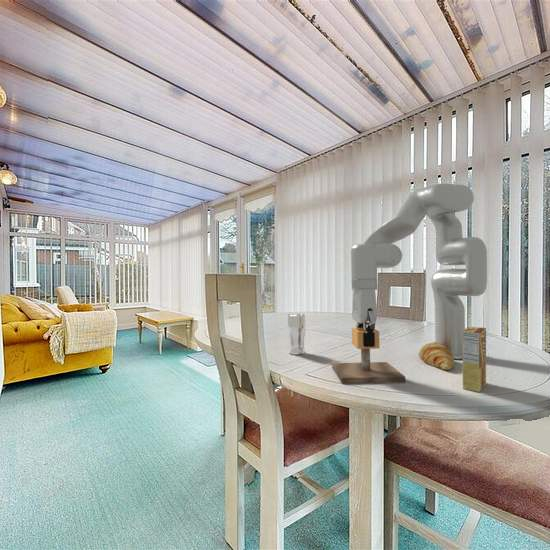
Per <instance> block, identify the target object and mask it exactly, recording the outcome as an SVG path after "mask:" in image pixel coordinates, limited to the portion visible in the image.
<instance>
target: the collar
mask: <svg viewBox="0 0 550 550" xmlns="http://www.w3.org/2000/svg"><path fill="white" fill-rule="evenodd" d="M363 333H364V328H357V327H351V344H352V345H353V346H354V347H355V348H356V349H357V350H361V349H370V350H371V349H373V350H375V349H380V330H378V329H376V328H375V346H374V347H364V346H363Z"/></svg>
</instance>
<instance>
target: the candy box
mask: <svg viewBox="0 0 550 550" xmlns="http://www.w3.org/2000/svg"><path fill="white" fill-rule="evenodd" d="M462 334H463V359H462V389H464V390H467V391H473V392H477V393H481V392H482V390H483V388H484V387H485V385H486V383H487V327H486V328H485V327H479V326H468V327H467V328H465V330H464V331H462Z"/></svg>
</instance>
